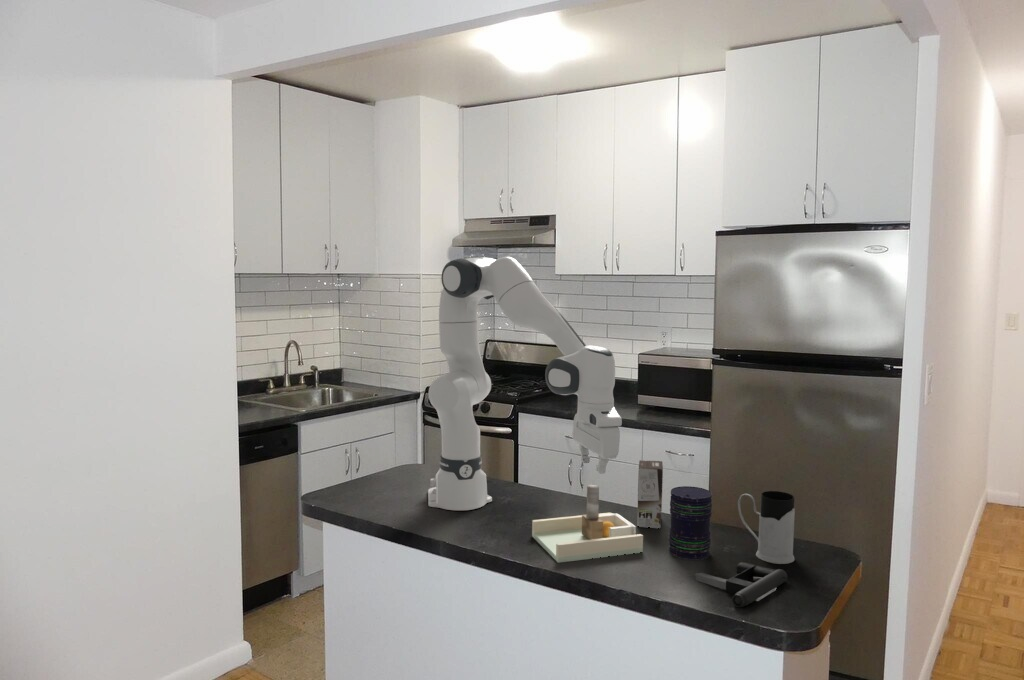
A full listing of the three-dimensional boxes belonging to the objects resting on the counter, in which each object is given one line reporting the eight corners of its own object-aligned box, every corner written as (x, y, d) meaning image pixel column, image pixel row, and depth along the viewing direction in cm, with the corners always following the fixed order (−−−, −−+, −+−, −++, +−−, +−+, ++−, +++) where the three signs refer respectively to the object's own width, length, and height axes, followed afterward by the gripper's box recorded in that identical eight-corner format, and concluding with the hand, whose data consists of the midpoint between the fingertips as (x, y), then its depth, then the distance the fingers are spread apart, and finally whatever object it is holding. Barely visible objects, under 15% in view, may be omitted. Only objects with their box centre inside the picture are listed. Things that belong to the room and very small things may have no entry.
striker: (581, 534, 189) (582, 483, 188) (592, 533, 190) (593, 482, 189) (591, 542, 184) (592, 490, 182) (602, 541, 184) (603, 489, 183)
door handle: (680, 578, 162) (749, 597, 150) (728, 554, 176) (794, 570, 164) (680, 593, 162) (749, 613, 150) (728, 568, 176) (794, 585, 164)
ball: (610, 517, 190) (611, 532, 191) (596, 520, 189) (597, 535, 189) (617, 522, 186) (618, 538, 187) (602, 525, 185) (603, 541, 186)
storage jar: (676, 541, 189) (678, 484, 187) (715, 549, 184) (717, 490, 182) (662, 554, 180) (664, 494, 179) (703, 563, 175) (705, 500, 174)
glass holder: (785, 566, 173) (788, 503, 172) (728, 550, 183) (730, 490, 182) (800, 556, 180) (803, 495, 178) (744, 541, 189) (746, 483, 188)
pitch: (532, 536, 192) (532, 516, 191) (610, 527, 198) (610, 508, 198) (557, 562, 175) (558, 541, 174) (642, 552, 181) (643, 531, 181)
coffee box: (661, 529, 198) (663, 469, 196) (636, 527, 199) (638, 467, 198) (661, 517, 207) (663, 460, 205) (637, 516, 208) (639, 459, 207)
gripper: (567, 404, 193) (565, 457, 194) (600, 421, 173) (598, 479, 175) (590, 403, 195) (587, 456, 196) (625, 420, 175) (622, 478, 177)
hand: (592, 467), depth 185 cm, fingers open, 8 cm apart
